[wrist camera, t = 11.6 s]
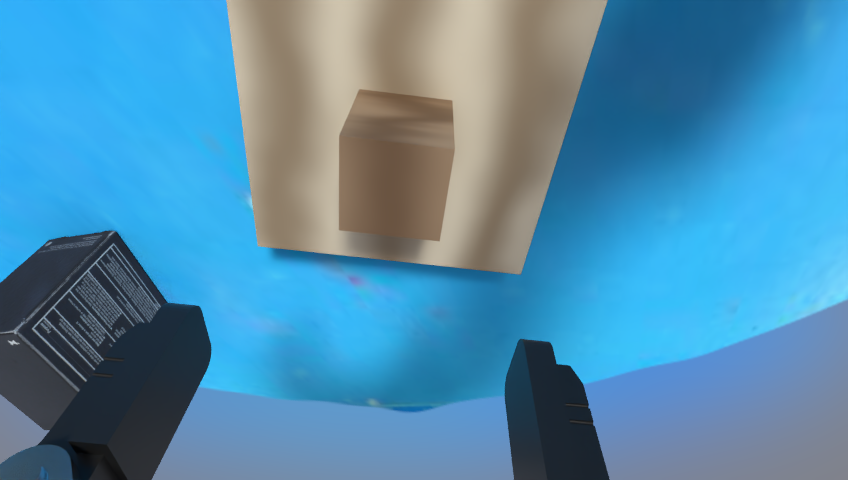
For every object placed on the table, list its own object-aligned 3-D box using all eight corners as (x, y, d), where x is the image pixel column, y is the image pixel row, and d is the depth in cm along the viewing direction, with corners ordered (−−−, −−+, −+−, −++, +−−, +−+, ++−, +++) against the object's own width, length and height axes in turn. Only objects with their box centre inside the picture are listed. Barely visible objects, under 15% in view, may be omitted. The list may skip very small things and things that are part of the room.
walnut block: (452, 100, 25) (455, 149, 20) (440, 181, 28) (439, 241, 23) (359, 89, 24) (338, 135, 20) (356, 172, 27) (338, 230, 23)
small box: (42, 238, 36) (-78, 340, 28) (116, 226, 36) (15, 328, 27) (118, 329, 43) (39, 435, 34) (183, 321, 42) (118, 428, 33)
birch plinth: (591, -31, 24) (614, -21, 21) (513, 240, 35) (520, 274, 32) (247, -79, 24) (216, -75, 20) (275, 213, 34) (258, 246, 31)
